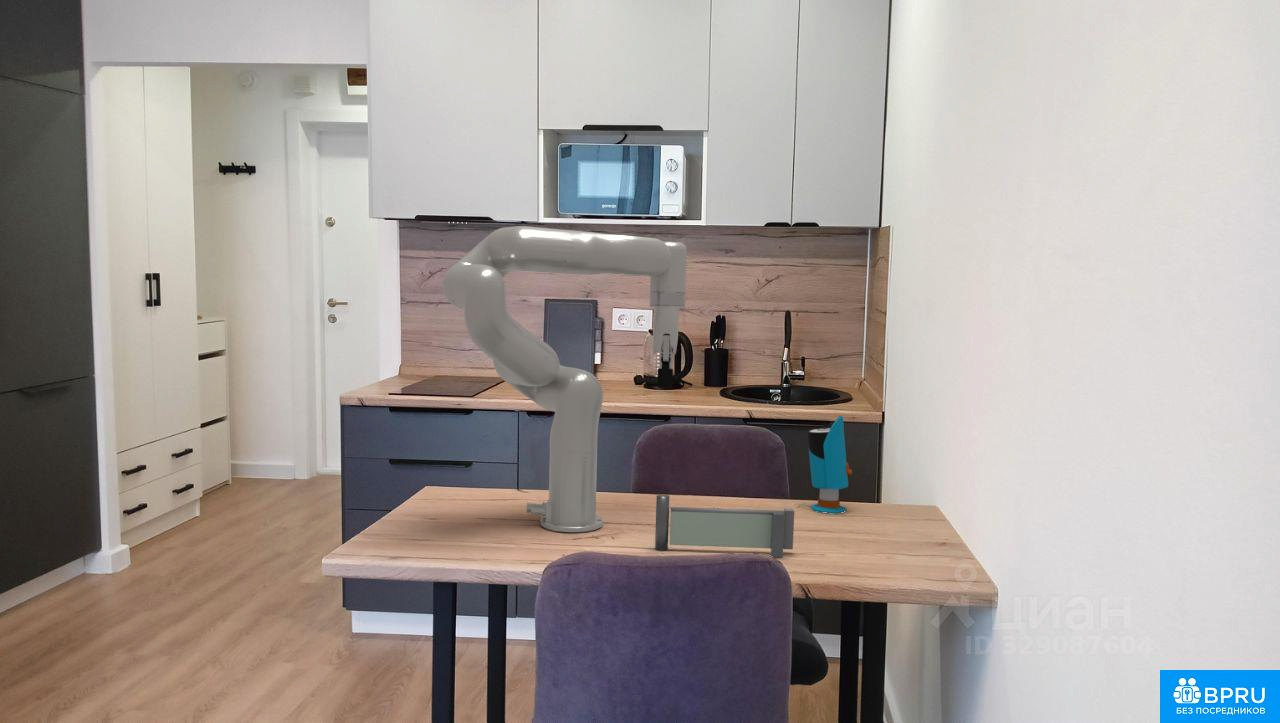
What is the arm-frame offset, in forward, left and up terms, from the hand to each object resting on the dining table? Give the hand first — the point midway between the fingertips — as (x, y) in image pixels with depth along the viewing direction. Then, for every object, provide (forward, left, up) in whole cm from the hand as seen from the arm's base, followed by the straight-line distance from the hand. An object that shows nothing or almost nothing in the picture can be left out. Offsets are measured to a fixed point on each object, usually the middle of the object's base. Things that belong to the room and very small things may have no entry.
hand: (664, 387), depth 196 cm
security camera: (+37, +8, -27) cm, 47 cm away
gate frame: (+10, -28, -27) cm, 40 cm away
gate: (+13, -27, -26) cm, 40 cm away
